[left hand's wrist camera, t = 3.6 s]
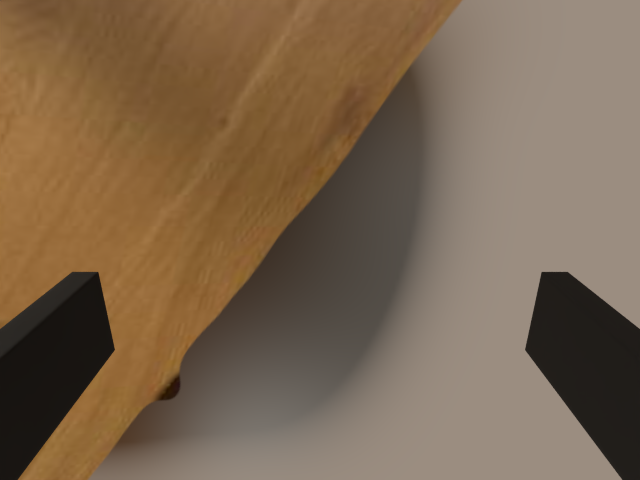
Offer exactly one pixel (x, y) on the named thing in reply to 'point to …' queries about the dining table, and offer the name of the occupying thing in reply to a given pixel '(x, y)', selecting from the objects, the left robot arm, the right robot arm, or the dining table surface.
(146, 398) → the dining table surface
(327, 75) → the dining table surface
